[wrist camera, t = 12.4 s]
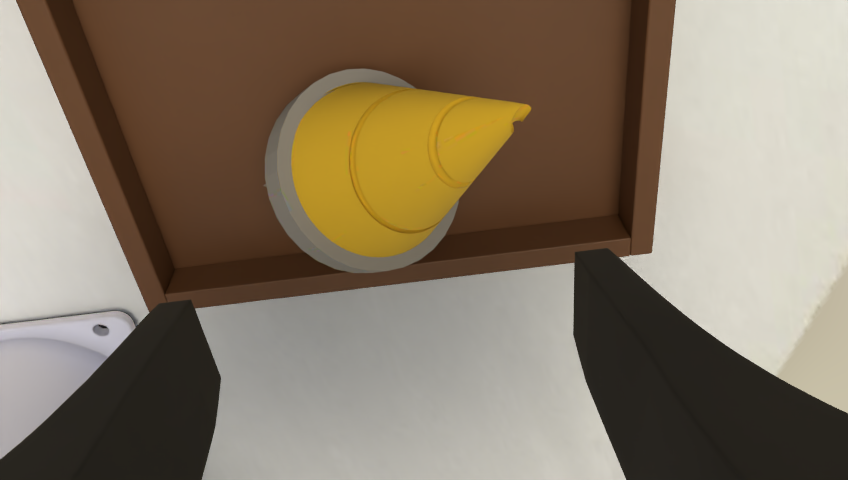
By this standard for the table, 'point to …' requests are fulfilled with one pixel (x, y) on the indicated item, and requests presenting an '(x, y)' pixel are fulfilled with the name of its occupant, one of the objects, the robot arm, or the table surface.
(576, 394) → the table surface
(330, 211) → the drill bit
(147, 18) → the tray
